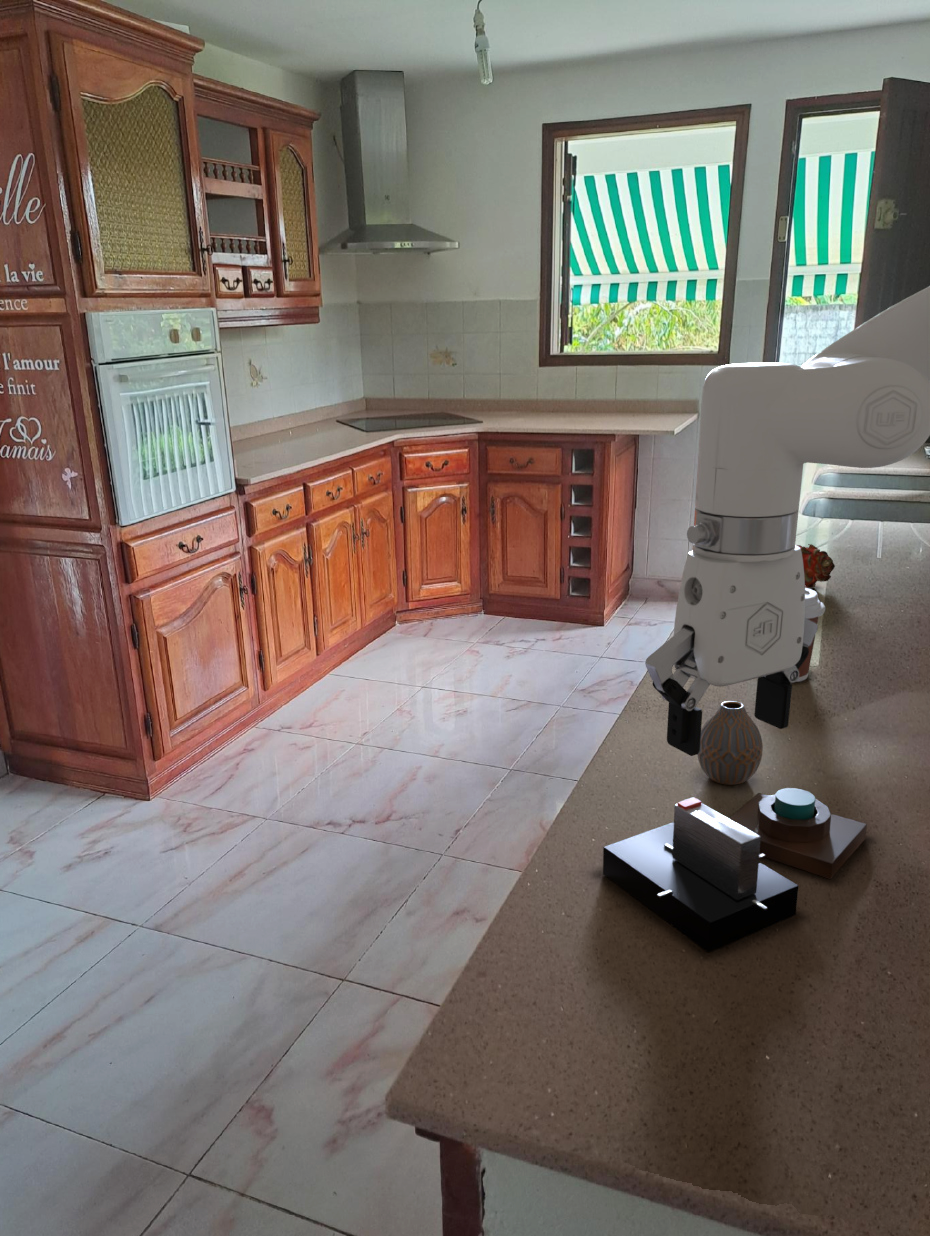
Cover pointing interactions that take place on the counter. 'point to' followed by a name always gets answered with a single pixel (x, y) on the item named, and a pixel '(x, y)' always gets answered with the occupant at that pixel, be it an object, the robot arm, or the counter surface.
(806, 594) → the coffee cup
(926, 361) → the robot arm
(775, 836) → the brown square base
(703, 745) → the vase
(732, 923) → the black rectangular base
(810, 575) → the dragon fruit
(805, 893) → the counter surface
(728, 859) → the metal block
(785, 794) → the button
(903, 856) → the counter surface
